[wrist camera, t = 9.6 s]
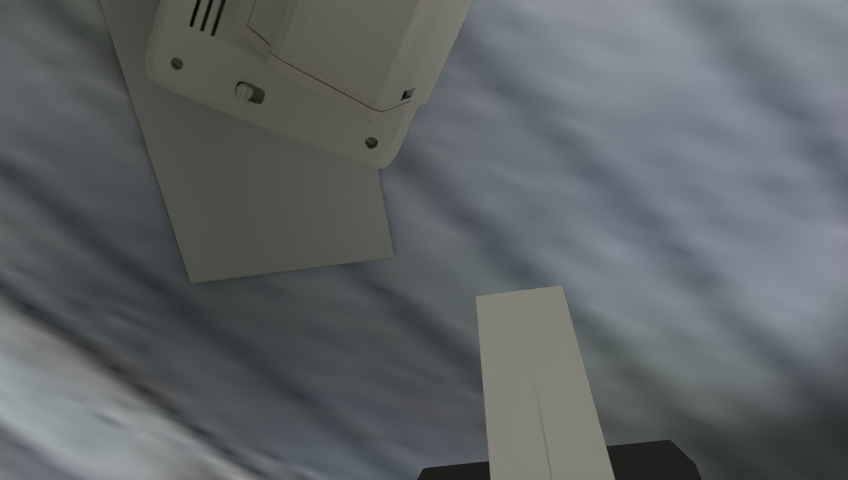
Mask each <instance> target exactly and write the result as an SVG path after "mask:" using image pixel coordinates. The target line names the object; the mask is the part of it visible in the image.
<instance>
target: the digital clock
mask: <svg viewBox="0 0 848 480" xmlns="http://www.w3.org/2000/svg"><path fill="white" fill-rule="evenodd" d="M472 2H473V0H161V1H160V4H159V7H158V11H157V14H156V18H155V21H154V25H153V28H152V32H151V35H150V38H149V42H148V45H147V50H146V55H145V69H146V72H147V75H148V76H149V77H150V79H151V80H152V81H154V82H155V83H157V84H158V85H160V86H162V87H164V88H166V89H168V90H170V91H172V92H175V93H177V94H179V95H182V96H184V97H186V98H189V99H191V100H194V101H196V102H199V103H201V104H204V105H206V106H209V107H212V108H214V109H217V110H219V111H222V112H224V113H227V114H229V115H232V116H234V117H237V118H239V119H242V120H244V121H247V122H249V123H252V124H255V125H257V126H260V127H262V128H265V129H267V130H270V131H272V132H275V133H277V134H280V135H282V136H285V137H287V138H290V139H292V140H295V141H297V142H300V143H303V144H305V145H308V146H310V147H313V148H315V149H318V150H320V151H323V152H325V153H328V154H330V155H333V156H335V157H338V158H340V159H343V160H346V161H348V162H351V163H353V164H356V165H359V166H362V167H365V168H369V169H381V168H385V167H386V166H388V165H389V164H390V163H391V162H392V161H393V160H394V158H395V157H396V155H397V153H398V151H399V149H400V147H401V145H402V143H403V141H404V138H405V136H406V134H407V132H408V129H409V127H410V125H411V123H412V120H413V118H414V116H415V114H416V111H417V109H418V107H419V106H421V105H423V104H426V103H428V101H429V98H430V96H431V94H432V92H433V89H434V87H435V85H436V83H437V80H438V78H439V76H440V74H441V72H442V69H443V67H444V65H445V63H446V60H447V58H448V56H449V54H450V51H451V49H452V47H453V45H454V42H455V40H456V38H457V36H458V33H459V31H460V29H461V27H462V24H463V22H464V20H465V18H466V16H467V13H468V11H469V9H470V7H471V4H472Z"/></svg>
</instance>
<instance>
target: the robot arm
mask: <svg viewBox="0 0 848 480" xmlns="http://www.w3.org/2000/svg"><path fill="white" fill-rule="evenodd" d="M476 306H477V318H478V330H479V342H480V355H481V367H482V379H483V392H484V404H485V416H486V429H487V441H488V453H489V461H487V462H478V463H468V464H459V465H450V466H440V467H431V468H423V470H422V472H421V474H420V476H419V477H418V479H417V480H701V477H700V475H699V472H698V470H697V468H696V465H695V463H694V462H693V461H692V460H691V459H689V458H688V457H687V456H686V455H685V454H684V453H683V452H682V451H681V450H680V449H679V448H678V447H677V446H676V445H675V444H674V443H673V442H671V441H670V440H663V441H653V442H644V443H635V444H625V445H616V446H607V447H606V444H605V441H604V437H603V434H602V430H601V426H600V423H599V419H598V415H597V412H596V408H595V404H594V401H593V397H592V393H591V390H590V386H589V382H588V379H587V375H586V371H585V368H584V364H583V360H582V357H581V353H580V350H579V346H578V342H577V339H576V335H575V331H574V328H573V324H572V320H571V317H570V313H569V309H568V306H567V302H566V298H565V295H564V291H563V287H562V285H561V286H553V287H545V288H537V289H528V290H520V291H512V292H504V293H496V294H488V295H480V296H476Z"/></svg>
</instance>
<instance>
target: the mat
mask: <svg viewBox="0 0 848 480" xmlns="http://www.w3.org/2000/svg"><path fill="white" fill-rule="evenodd" d="M160 1H161V0H100V3H101V6H102V9H103V13H104V16H105V19H106V22H107V25H108V28H109V31H110V34H111V37H112V41H113V44H114V47H115V50H116V53H117V56H118V59H119V62H120V65H121V69H122V72H123V75H124V78H125V81H126V84H127V87H128V90H129V93H130V96H131V100H132V103H133V106H134V109H135V112H136V115H137V118H138V121H139V124H140V128H141V131H142V134H143V137H144V140H145V143H146V146H147V149H148V152H149V155H150V159H151V162H152V165H153V168H154V171H155V174H156V177H157V180H158V183H159V187H160V190H161V193H162V196H163V199H164V202H165V205H166V208H167V211H168V214H169V218H170V221H171V224H172V227H173V230H174V233H175V236H176V239H177V242H178V246H179V249H180V252H181V255H182V258H183V261H184V264H185V267H186V270H187V273H188V277H189V280H190V283H199V282H207V281H214V280H222V279H230V278H238V277H246V276H253V275H261V274H269V273H277V272H285V271H292V270H300V269H308V268H316V267H324V266H331V265H339V264H347V263H355V262H363V261H370V260H378V259H386V258H394V254H395V253H394V248H393V243H392V237H391V232H390V227H389V222H388V216H387V211H386V206H385V201H384V195H383V190H382V185H381V180H380V174H379V169H369V168H365V167H362V166H359V165H356V164H353V163H351V162H348V161H346V160H343V159H340V158H338V157H335V156H333V155H330V154H328V153H325V152H323V151H320V150H318V149H315V148H313V147H310V146H308V145H305V144H303V143H300V142H297V141H295V140H292V139H290V138H287V137H285V136H282V135H280V134H277V133H275V132H272V131H270V130H267V129H265V128H262V127H260V126H257V125H255V124H252V123H249V122H247V121H244V120H242V119H239V118H237V117H234V116H232V115H229V114H227V113H224V112H222V111H219V110H217V109H214V108H212V107H209V106H206V105H204V104H201V103H199V102H196V101H194V100H191V99H189V98H186V97H184V96H182V95H179V94H177V93H175V92H172V91H170V90H168V89H166V88H164V87H162V86H160V85H158V84H157V83H155V82H154V81H152V80H151V79H150V77H149V76H148V75H147V72H146V69H145V55H146V50H147V45H148V42H149V38H150V35H151V32H152V28H153V25H154V21H155V18H156V14H157V11H158V7H159V4H160Z"/></svg>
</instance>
